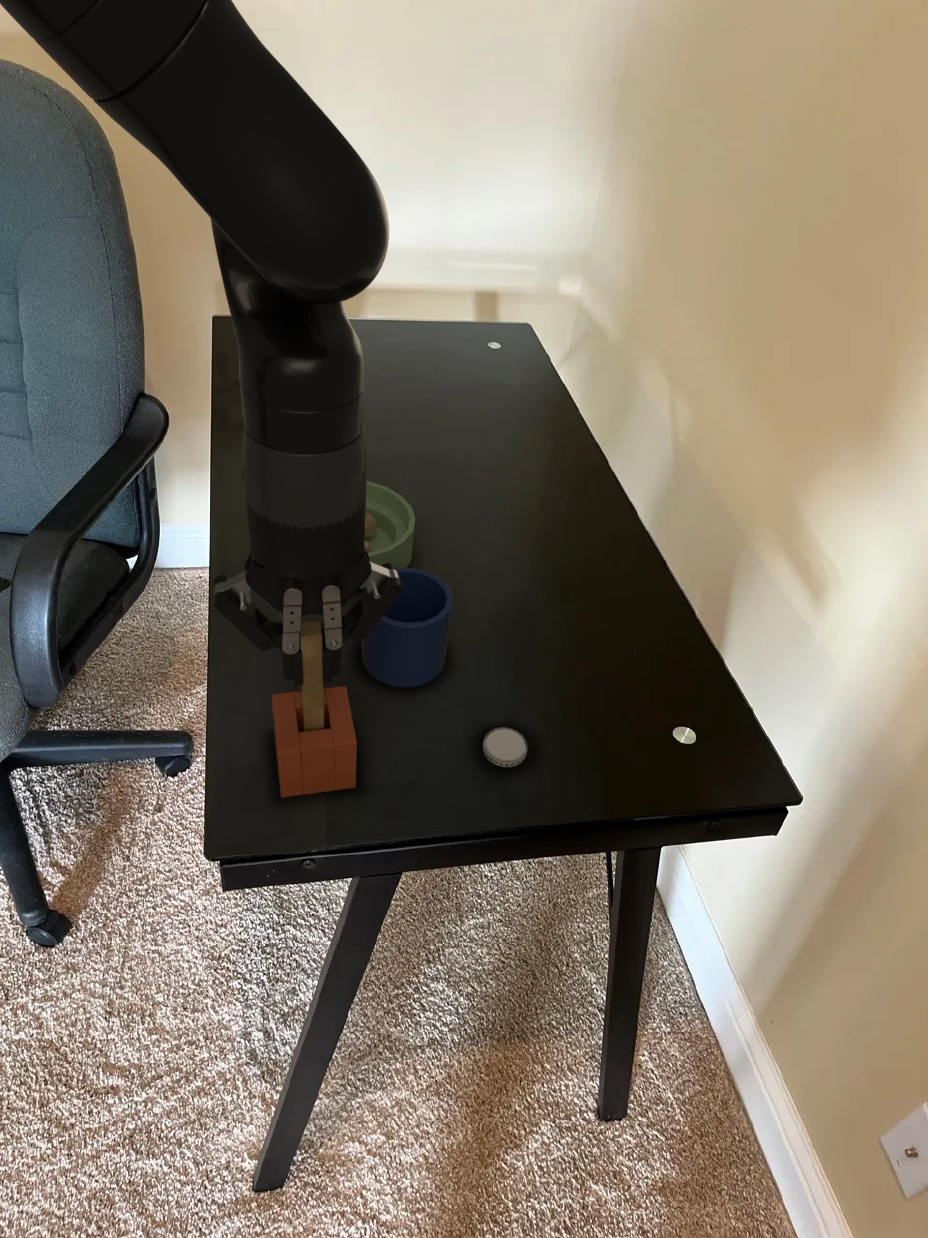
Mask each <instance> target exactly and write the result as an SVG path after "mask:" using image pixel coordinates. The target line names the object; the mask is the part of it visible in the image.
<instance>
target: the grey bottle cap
mask: <svg viewBox="0 0 928 1238" xmlns="http://www.w3.org/2000/svg"><path fill="white" fill-rule="evenodd" d="M528 749H529V745H528V742H527V739H526V738H525V737H524V735H523V734H522V733H520V732H519V731H517V730H516V729H513V728H510V727H496V728H493V729H491V730H490V731H489V732H487V733H486V735H485V736H484V738H483V742H482V752H483V754H484V756H485V757H486V759H487V760H488V761H489V762H490V763H492V764H494V765H495V766H499V767H502V768H513V767H516V766H518V765H520V764H521V763H523V761H524V760H525V759H526V757H527V753H528Z"/></svg>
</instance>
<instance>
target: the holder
mask: <svg viewBox="0 0 928 1238" xmlns="http://www.w3.org/2000/svg"><path fill="white" fill-rule="evenodd" d="M323 694H324V730H316V731H307V732H303V720H302V698H301V690H299V691H298V690H297V691H290V692H289V691H288V692H281V693H280V692H279V693H272V694H271V696H270V697H271V705H272V706H271V708H272V718H273V719H272V720H273V733H274V745H275V755H276V762H277V774H278V782H279V783H278V784H279V792H280V798H281V799H282V798H289V797H295V796H303V795H312V794H319V793H325V792H332V791H339V790H347V789H348V790H349V789H354V788H356V787H357V756H358V753H357V751H358V742H357V737H356V729H355V725H354V721H353V716H352V709H351V704H350V700H349V695H348V689H347V686H346V685H343V686H342V685H341V686H333V687H325V688H323Z"/></svg>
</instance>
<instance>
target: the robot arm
mask: <svg viewBox="0 0 928 1238" xmlns="http://www.w3.org/2000/svg"><path fill="white" fill-rule="evenodd" d="M0 6H1V7H2V8H3V9H4V10H5V11H6V12H7V13H8V14H9V16H11V18H12V19H14V21H15V22H16V23H17V25H19V26H20V27H21V28H22V29H23V30H24V31H25V33H27V34H28V36H30V37H31V38H32V39H33V40H34V41H35V43H36V44H37V45H38V46H39V47H40V48H41V49H42V50H43V51H44V52H45V53H46V54H47V55H48V56H49V57H50V58H51V59H52V60H53V61H54V63H56V64H57V66H59V68H61V70H63V71H64V72H65V73H66V75H67V76H69V78H70V79H71V80H72V81H73V82H74V83H75V84H77V86H78V87H79V88H80V89H81V90H82V91H83V92H84V93H85V94H86V95H87V96H88V97H89V98H90V99H92V100H93V102H94V103H95V104H96V105H97V106H98V107H99V108H100V109H101V110H102V111H103V112H104V113H105V114H107V116H109V118H110V119H111V120H113V122H115V123H116V124H117V125H119V126H120V128H122V129H123V130H124V131H125V132H127V133H128V134H129V135H130V136H131V137H132V138H134V139H135V140H136V141H137V142H138V143H139V144H140V145H142V146H143V147H144V148H145V149H146V150H147V151H149V152H150V153H151V154H152V155H153V156H155V158H156V159H157V160H159V161H160V162H161V163H162V164H163V166H164V167H166V169H168V171H169V172H170V173H171V174H172V175H173V176H174V178H175V179H176V180H177V181H178V183H180V185H181V186H182V187H183V188H184V189H185V191H186V192H187V193H188V194H189V196H191V197H192V199H194V201H195V202H196V203H197V204H198V205H199V207H200V208H201V209H203V211H204V212H205V213H206V215H207V216H208V217H209V218H210V225H211V231H212V236H213V241H214V242H213V243H214V248H215V253H216V257H217V262H218V266H219V271H220V276H221V280H222V285H223V289H224V293H225V298H226V302H227V304H228V306H227V307H228V309H229V314H230V316H231V321H232V325H233V330H234V333H235V337H236V344H237V349H238V350H237V351H238V376H239V378H238V381H239V389H240V402H241V413H242V427H243V435H242V437H243V440H242V448H241V449H242V451H241V453H242V455H241V460H242V461H241V463H242V471H241V472H242V473H241V476H242V481H243V485H244V493H245V494H244V497H245V508H246V517H247V518H246V519H247V528H248V529H247V530H248V539H249V551H250V552H249V556H248V557H247V558H246V560H245V562H244V567H243V569H244V570H243V571H241V572H240V573H238V574H236V575H234V576H232V577H230V576H229V575H225V574H220V575H217V576H215V577H214V578H213V599H214V601H213V603H214V608H215V609H216V610H217V611H218V612H219V613H220V614H221V615H222V616H223V617H224V618H225V619H226V620H227V621H228V622H229V623H230V624H231V625H233V626H234V627H235V628H236V629H237V630H238V632H240V633H241V634H242V635H243V636H244V637H245V638H246V639H248V641H250V643H252V645H254V646H255V647H256V648H257V649H258V650H259V651H263V652H264V651H270V650H271V649H272V648H276V649H278V650H280V651H281V664H282V671H283V677H284V678H285V680H287V681H291V680H292V681H293V686H294V687H295V686H301V685H303V663H302V650H301V649H300V632H301V623H302V617H304V616H308V615H311V614H312V615H321V631H322V643H323V648H322V670H323V684H324V683H332V682H333V676H337V675H339V674H340V672H341V670H342V669H341V664H342V662H341V661H342V660H341V659H342V655H341V654H342V653H341V652H342V649H341V648H342V646H343V644H344V643H346V642H347V641H353V642H357V643H359V642H361V641H362V640H364V639H365V638H366V637H367V636H368V634H369V633H370V632H371V631H372V629H373V628H374V627H375V626H376V624H377V623H378V622H379V621H380V619H381V618H382V617H383V616H384V614H385V613H386V612H387V611H388V609H389V608H390V607H391V606H392V604H393V603H394V602H395V601H396V599H397V598H398V597H399V596H400V594H401V593H402V586H401V581H400V578H399V574H398V572H397V569H396V566H395V565H394V564H392V563H386V564H384V565H382V566H379V565H377V564H374V563H372V562H370V561H369V555H368V553H367V551H366V550H365V515H366V481H368V480H367V477H368V476H367V474H368V455H367V446H366V440H365V427H364V426H365V392H366V390H365V389H366V383H365V382H366V367H365V357H364V352H363V347H362V343H361V341H360V339H359V337H358V335H357V333H356V331H355V329H354V328H353V325H352V324H351V321H350V319H349V318H348V315H347V313H346V312H347V311H346V310H345V305H344V302H345V301H348V300H351V299H352V298H355V297H356V296H358V295H360V294H361V293H362V292H364V291H365V290H366V289H367V288H368V287H369V286H370V285H371V284H372V283H373V282H374V280H375V279H376V277H377V276H378V275H379V273H380V271H381V269H382V267H383V265H384V263H385V260H386V257H387V253H388V249H389V242H390V220H389V214H388V213H389V212H388V208H387V204H386V201H385V197H384V195H383V192H382V189H381V188H380V185H379V183H378V181H377V179H376V178H375V176H374V175H373V173H372V171H371V170H370V168H369V167H368V165H367V164H366V163H365V160H363V158H362V157H361V155H360V154H359V153H358V152H357V150H356V149H355V148H354V146H353V145H352V144H351V143H350V142H349V140H348V139H347V138H346V136H344V135H343V133H342V132H341V131H340V129H339V128H338V127H337V126H336V125H335V124H334V123H333V121H332V120H331V119H330V118H329V117H328V115H327V114H326V113H325V111H323V110H322V108H321V107H320V106H319V105H318V104H317V103H316V102H315V101H314V99H313V98H312V97H311V96H310V95H309V94H308V93H307V91H306V90H305V89H304V88H303V87H302V86H301V84H299V83H298V81H297V80H296V79H295V78H294V77H293V76H292V75H291V73H290V72H289V71H288V70H287V69H286V68H285V67H284V66H283V64H281V63H280V62H279V60H278V59H277V58H276V57H275V56H274V55H273V54H272V53H271V51H270V50H269V49H268V48H267V47H266V46H265V45H264V43H263V42H262V41H261V40H260V39H259V37H258V36H257V35H256V33H255V32H254V31H253V29H252V28H251V27H250V26H249V24H248V22H247V21H246V19H245V18H244V17H243V15H242V14H241V13H240V11H239V10H238V8H237V6H236V5H235V3H234V2H233V0H0ZM364 582H365V585H366V587H365V588H364V589H362V591H361V592H360V594H359V595H358V596H357V597H356V598H355V600H354V601H353V602H352V604H351V605H350V607H349V608H347V610H346V612H345V614H344V615H342V607H343V606H345V604H346V603H347V602H348V601H349V600H350V599H351V598H352V597H353V596H354V595H355V594H356V592H357V591H358V590H360V589H359V588H360V587H361V585H362V584H363V583H364ZM251 590H253V592H255V593H256V594H258V595H259V597H261V598H262V599H263V600H264V601H266V602H267V603H268V604H269V605H270V606H271V607H272V608H274V609H275V610H276V611H278V612H279V622H278V621H272V619H271V618H270V616H269V615H267V613H266V612H265V611H264V610H263V609H262V608H261V607H260V606H259V605H258V604H257V603H256V602H254V600H253V599H252V591H251Z"/></svg>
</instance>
